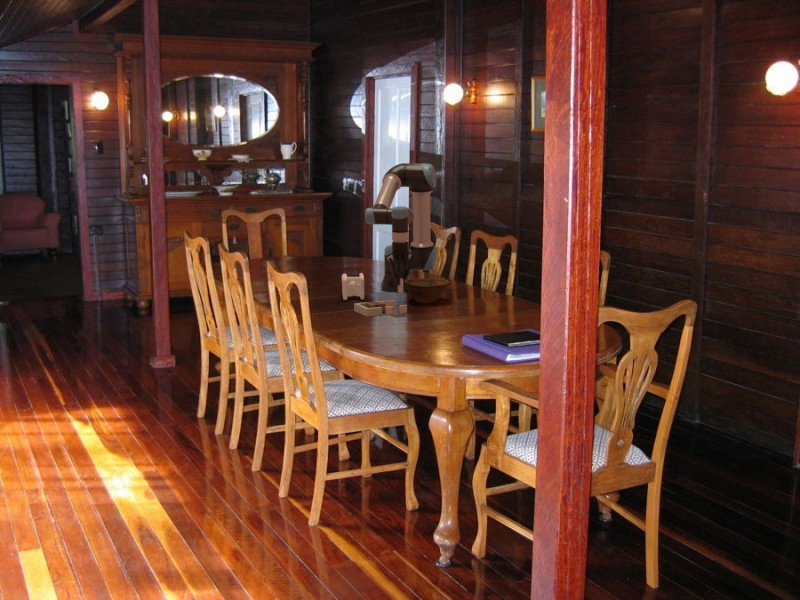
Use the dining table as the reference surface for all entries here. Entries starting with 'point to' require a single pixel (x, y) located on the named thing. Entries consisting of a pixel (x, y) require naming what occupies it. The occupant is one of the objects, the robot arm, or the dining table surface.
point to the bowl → (426, 289)
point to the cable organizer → (353, 286)
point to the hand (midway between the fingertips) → (400, 292)
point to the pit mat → (400, 315)
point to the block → (376, 305)
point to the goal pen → (367, 310)
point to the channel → (391, 304)
